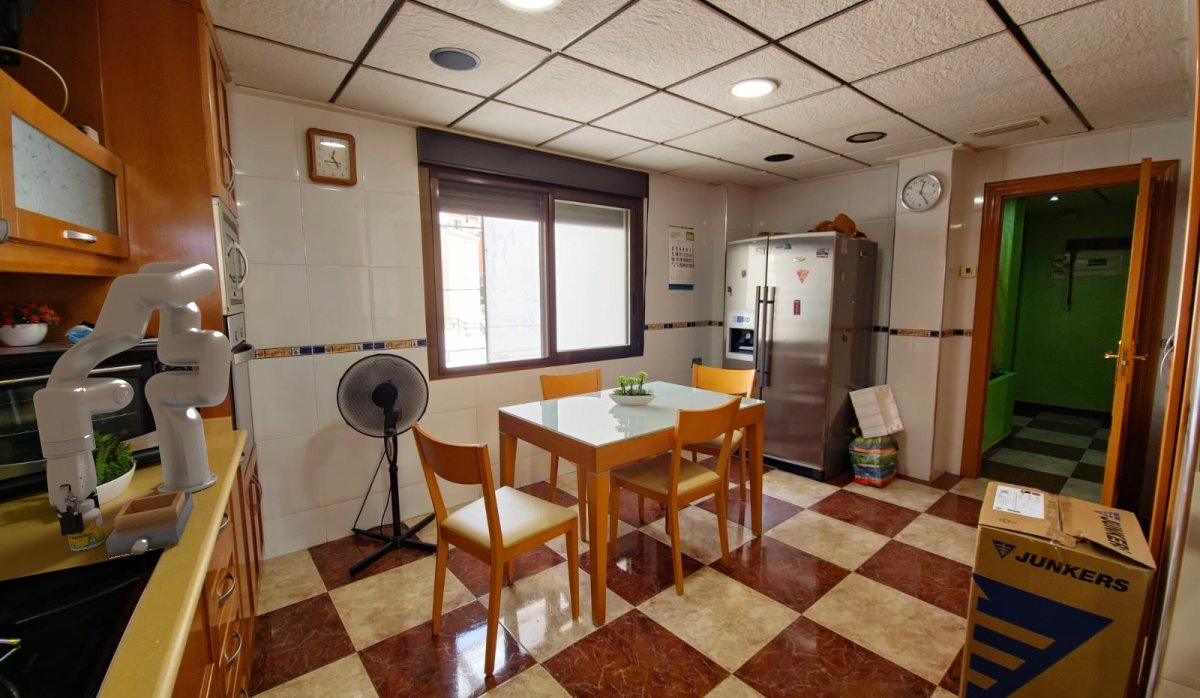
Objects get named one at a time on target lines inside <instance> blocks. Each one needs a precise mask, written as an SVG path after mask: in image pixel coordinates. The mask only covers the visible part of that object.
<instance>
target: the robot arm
mask: <svg viewBox="0 0 1200 698" xmlns="http://www.w3.org/2000/svg"><path fill="white" fill-rule="evenodd" d="M218 281H219V279H218V275H217V273H216V271H215V269H214V267H212V266H211V265H210V264H208V263H206V262H201V261H157V262H155V261H154V262H149V263H146V264H143V265H141V266H140V267H139V269H138V271H137V273H128V274H123V275H119V276H118V277H116V278H115V279H114V280H113V281H112V283H111V284H110V287H109V290H108V292H107V295H106V297H105V300H104V302H103V305H102V308H101V309H100V313H99V315H98V317H97V320H96V322H95V325H94V328H93V329H92V331H91V332H89V333H88V334H87V335H86V336H84V337H82V338H81V339H80V340H78V341H77V342H76V343H75V344H73V345H72V346H71V347H70V348H69V349H67V351H65V352H64V353H63V354H61V356H60V357H59V358H58V360H57V361H56V362H55V365H54V366H53V367H52V370H51V373H50V375H49V377H48V380H47V383H46V385H45V386H46V387H45V388H44V387H43V388H41V389H38V390H36V391H35V392H34V394H33V407H34V410H35V415H36V416H35V417H36V423H37V428H38V433H39V439H40V445H41V452H42V456H43V458H44V459H46V479H47V488H48V489H47V490H48V491H47V492H48V498H49V499H48V500H49V504H50V506H51V507H56V513H57V517H58V521H59V525H60V526H59V527H60V532H61V533H60V534H61V536H64V537H65V536H68V535H70V534H75V533H81V532H83V531H84V523H83V517H82V512H81V513H79V509H80V502H81V501H83V500H85V499H93V500H94V504H95V505H94V507H93V508H98V509H99V510H100V511H101V506H100V501H99V495H98V489H97V486H98V477H97V470H96V466H95V460H94V456H93V452H92V451H94V450H96V446H97V445H96V440H95V433H94V427H93V421H92V416H94V415H99V414H100V415H102V414H104V413H105V414H106V413H113V412H116V411H117V412H118V411H120V410H122V409H124V408H126V407H127V406H128V405H129V404H130V403H131V402H132V400H133V398H134V396H135V395H134V394H135V393H134V388H133V386H132V385H131V384H130V383H129V382H127V381H126V380H124V379H121V378H115V377H88V376H89V374H91V371H92V370H93V369H94V368H95V367H97V366H98V365H99V364H100V363H101V362H103V361H104V360H106V359H108V358H110V357H112V356H115V355H116V354H119V353H121V352H124V351H127V350H129V349H131V348H133V347H136V346H137V345H139V344H141V343H142V342H143V341H144V338H145V335H146V332H147V329H148V326H149V323H150V321H151V318H152V315H153V313H154V311H155V310H159V326H158V337H157V338H158V339H157V347H156V354H157V358H158V360H159V362H160V363H162V364H163V365H167V366H172V367H198V368H199V370H172V371H171V370H169V371H163V372H158V373H157V374H154V375H152V376H151V377H150V378H149V379H148V380H147V381H146V383H145V386H144V394H145V399H146V400H147V403H148V405H149V407H150V409H151V412H152V415H153V419H154V423H155V429H156V436H157V443H158V448H159V449H158V450H159V453H160V454H159V455H160V461H161V469H162V471H161V472H160V476H161V477H163V483H160V484H159V485H158V487H157V492H158V495H160V494H165V493H171V492H176V491H182V490H184V493H186V492H192V493H195V492H198V491H201V490H204V489H207V488H209V487H211V486H212V485H214V484H215V483H216V482H218V481H219V479H218V477H219V476H218V474H216V473H215V472H210V466H209V465H210V464H209V459H208V458H209V457H208V451H207V450H208V449H207V444H206V436H205V429H204V422H203V421H204V420H203V417H202V416H201V414H200V413H199V411H198V410H197V409H196V408H203V407H204V408H205V407H206V408H208V407H209V408H210V407H216V406H219V405H221V404H222V403H223V402H224V401H225V400H226V397H227V395H228V392H229V386H230V385H229V384H230V372H231V362H232V347H231V344H230V341H229V339H228V337H227V336H226V335H225V334H224V333H223V332H221V331H218V330H213V329H203V330H202V312H201V310H200V308H199V306H198V304H197V303H196V301H199V300H200V299H203V298H204V297H206V296H208V295H211V293H212V292H214V291H215V289H216V288H217V286H218V285H217V284H218ZM71 504H74V508H73V507H72V506H71Z"/></svg>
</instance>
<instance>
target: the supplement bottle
mask: <svg viewBox="0 0 1200 698" xmlns="http://www.w3.org/2000/svg"><path fill="white" fill-rule="evenodd" d="M94 505H95V504H94V500H93V499H85V500H83V501H81V502H80V509H79V513H81V512H82V517H83V523H84V531H83V532H81V533H75V534H70V535H67V540H68V545H69V548H70V550H71V551H73V552H80V551H79V550H83V551H86V550H85V549H87V550H90V548H91V549H93V548H95V547H98V546H100V545H102V544H103V543H105V542H106V540H107V539H106V538H107V537H106V532H105V528H104V523H103V517H102V512H101V509H100V510H99V509H98V508H93V507H94ZM71 506H72V507H73V508H74V504H71Z"/></svg>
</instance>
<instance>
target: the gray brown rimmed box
mask: <svg viewBox="0 0 1200 698" xmlns="http://www.w3.org/2000/svg"><path fill="white" fill-rule="evenodd" d="M193 497H194V496H193V492H186V493H184V490H182V491H176V492H171V493H165V494H156V495H149V496H144V497H139V498H134V499H133V498H132V499H128V500H127V501H126V502H125V503H124V504H123V506H122V507H121V509H120V510H119V512H118V513H117V514H116V516H115V518H114V519H113V521H114V525H115V527H114V529H113V530H112V531H111V533H110V534H109V536H108V538H107V539H105V546H106V547H105V548H106V552H107V553H106V554H107V558H111V557H115V556H119V555H120V556H121V555H125V554H131V553H133V555H136V556H138V555H139V556H140V555H143V554H144V553H146V550H149V549H155V548H160V549H163V548H162V547H165V548H167V547H166V546H169V545H173V546H176V545H175V544H178V543H179V544H180V542H179V541H181V539H182V538H183V535H182V534H184V532H185V529H186V527H187V524H188V522H189V520H190V517H191V515H192V512H193V510H194V508H195V504H194V499H193ZM179 544H178V545H179ZM169 547H170V546H169Z"/></svg>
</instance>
